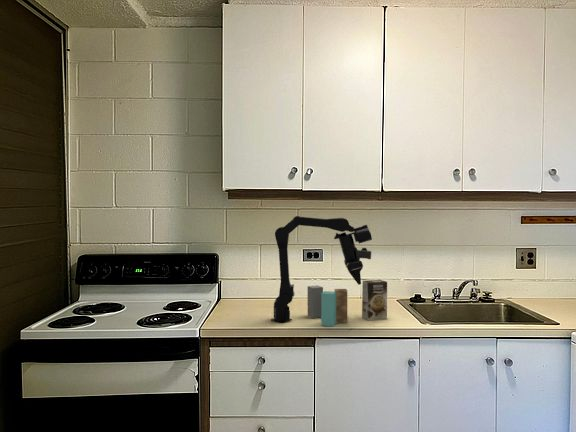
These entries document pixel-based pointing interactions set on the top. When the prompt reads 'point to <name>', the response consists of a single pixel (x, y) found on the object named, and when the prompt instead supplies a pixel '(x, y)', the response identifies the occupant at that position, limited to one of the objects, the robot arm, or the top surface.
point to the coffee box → (374, 299)
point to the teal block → (328, 308)
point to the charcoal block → (314, 301)
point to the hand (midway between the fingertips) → (358, 282)
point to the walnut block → (341, 305)
